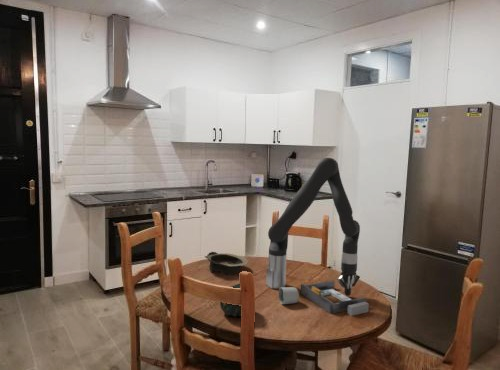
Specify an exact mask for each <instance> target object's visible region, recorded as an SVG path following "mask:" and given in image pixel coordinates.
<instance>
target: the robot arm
mask: <svg viewBox="0 0 500 370" xmlns="http://www.w3.org/2000/svg"><path fill="white" fill-rule="evenodd" d="M326 182H327V183H328V185H329V189H330V191H331V196H332V200H333V204H334V207H335V209H336V213H337V215H338V217H339V224H340V227H341V231H342V233H343V235H344V240H343V242H342V253H341V261H340V262H341V263H340V264H341V265H340V270H341V273H340V276H339V277H337V278H336V280H337V282H338V283H339V285H340V286H341V287H342V288H344V292H343V293H344V295H345V296H346V297H349V296H351V295H352V288H353V287H355V286H356V284H357V283H358V281H359V280H360V278H361V277H360V275H358V274H357V270H358V246H359V245H358V242H359V238H360V232H361V225H360V223H359V222H358V221H357V220H355V219H354V216H353V208H352V206H351V203H350V200H349V198H348V195H347V193H346V190H345V188H344V185H343V181H342V178H341V174H340V169H339V164H338V161H337V160H336V159H335V158H331V157H324V158H322V159H321V160H320V161H318V163H317V165H316V167H315V169H314V170H313V172H312V173H311V175H310V176H309V178H308V179H307V180H306V181H305V182H304V184H302V186H301V187H300V188H299V190H298V191H297V192H296V193H295V194H294V195H293V198H292V199H291V200H290V202H289V203H288V205H287V206H286V207H285V210H284V212H283V213H282V214H281V216H279V218H278V219H277V220H276V221H275V222H274V223H273V224H272V225H271V227H269V229H268V232H267V234H268V235H267V236H268V239H269V241H270V242H269V246H268V266H267V267H266V276H265V277H266V278H265V279H266V281H265V282H266V283H265V284H266V286H268V287H269V288H270V289H278V290H279V289H280V288H281V287H286V277H287V250H288V244H289V243H288V241H289V231H290V230H291V228H292V227H293V226H294V224H295V223H296V222H298V220H299V219H300V218H301V217H303V215H304V214H305V213H306V212H307V211H308V209H309V208H310V207H311V206H312V204H313V203H314V202H315V200H316V198H317V196H318V194H319V192H320V190H321V188H322V187H323V186H324V185H325V183H326Z"/></svg>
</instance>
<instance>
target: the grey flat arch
mask: <svg viewBox="0 0 500 370" xmlns="http://www.w3.org/2000/svg"><path fill="white" fill-rule="evenodd" d="M321 295H322V296H324V297H325V296H329V295H330V296H332V297H334V298H336V299H338V300H339V301H340V302H343V301H347V300H352V298H350V297H349V296H347V295H345V294H343V293H341V292H339V291H337V290H335V288H334V289H328V290H323V291H321Z"/></svg>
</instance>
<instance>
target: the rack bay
mask: <svg viewBox="0 0 500 370" xmlns="http://www.w3.org/2000/svg"><path fill="white" fill-rule="evenodd" d="M335 283H336V282H335V280H333V279H332V280H329V281H328V280H327V281H321V282H316V283H309V284H304V283H301V284H300V294H301V295H302V296H304V297H305V298H306V299H308V300H309V301H312V302H313V303H314V304H316V305H318V306H319V307H320V308H322V309H323V310H325V311H326V312H328V313H330V314H336V313H341V312H347V311H348V305H352V304H357V303H361V302H366V303H367V297H365V296H363V297H357V298H354V299H352V298H351V299H352V300H347V301H337V302H333V301H332V300H330V299H328V298H327V297H325V296H322V295H321V291H323V290H328V289H334V290H335Z"/></svg>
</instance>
